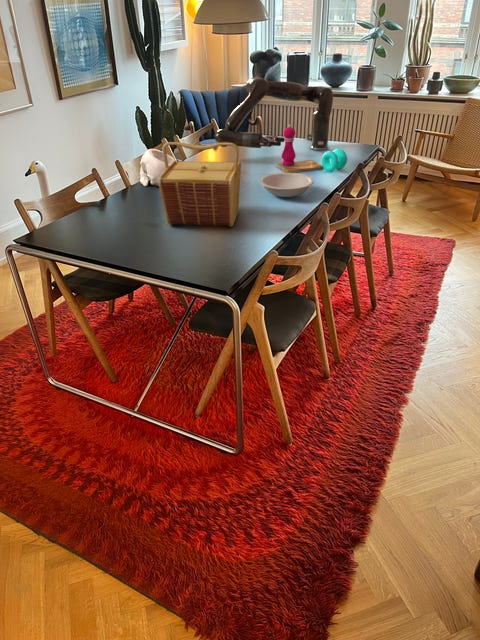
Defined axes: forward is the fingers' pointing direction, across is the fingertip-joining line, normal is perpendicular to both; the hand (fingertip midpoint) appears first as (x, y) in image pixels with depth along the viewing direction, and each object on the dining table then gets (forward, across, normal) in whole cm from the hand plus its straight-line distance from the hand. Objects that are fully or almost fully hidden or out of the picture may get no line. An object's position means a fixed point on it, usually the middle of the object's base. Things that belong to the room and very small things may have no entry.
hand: (282, 141), depth 246 cm
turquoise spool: (+27, +1, +13) cm, 30 cm away
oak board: (+10, +1, +13) cm, 16 cm away
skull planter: (-51, -42, +14) cm, 68 cm away
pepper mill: (+3, 0, +12) cm, 12 cm away
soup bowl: (+12, -42, +13) cm, 46 cm away
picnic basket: (-14, -80, +14) cm, 82 cm away
